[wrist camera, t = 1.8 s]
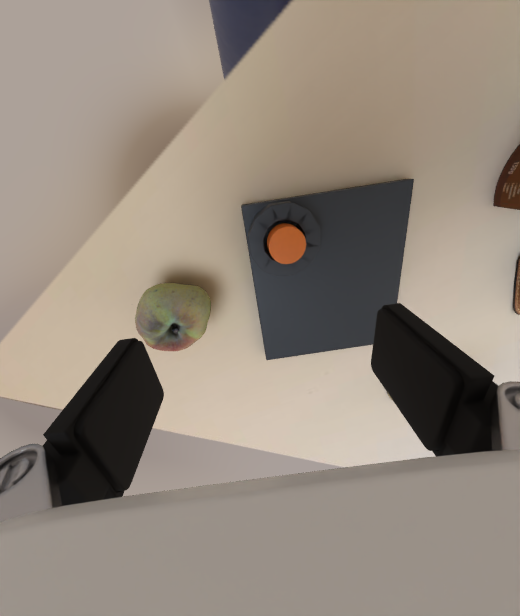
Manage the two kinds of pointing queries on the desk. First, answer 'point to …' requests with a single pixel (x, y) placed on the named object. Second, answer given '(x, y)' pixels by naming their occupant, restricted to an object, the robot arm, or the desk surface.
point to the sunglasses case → (517, 289)
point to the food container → (509, 184)
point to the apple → (172, 316)
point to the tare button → (286, 243)
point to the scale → (328, 266)
